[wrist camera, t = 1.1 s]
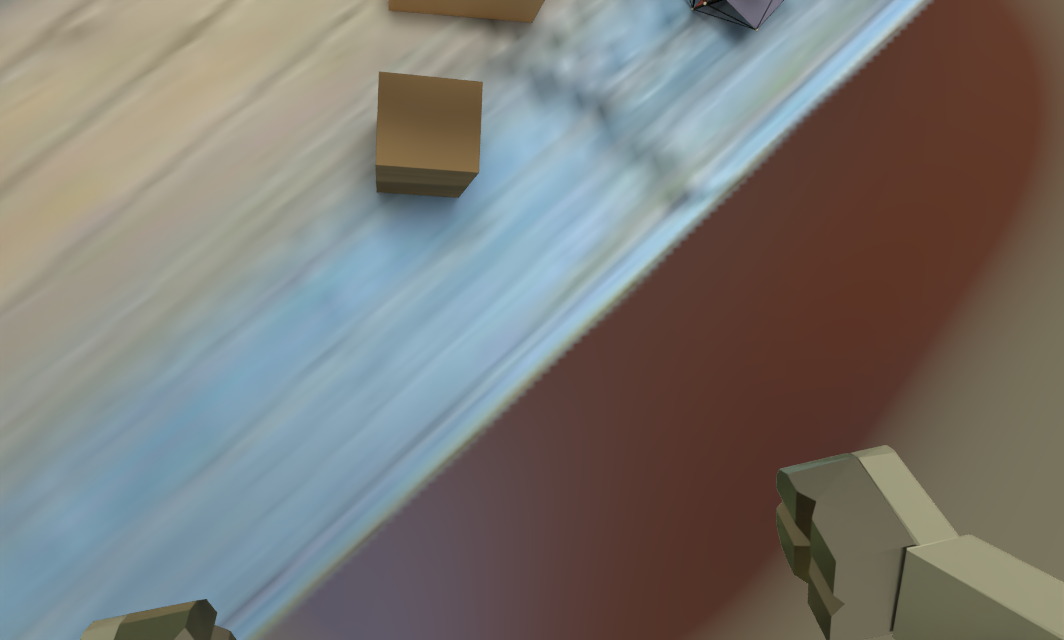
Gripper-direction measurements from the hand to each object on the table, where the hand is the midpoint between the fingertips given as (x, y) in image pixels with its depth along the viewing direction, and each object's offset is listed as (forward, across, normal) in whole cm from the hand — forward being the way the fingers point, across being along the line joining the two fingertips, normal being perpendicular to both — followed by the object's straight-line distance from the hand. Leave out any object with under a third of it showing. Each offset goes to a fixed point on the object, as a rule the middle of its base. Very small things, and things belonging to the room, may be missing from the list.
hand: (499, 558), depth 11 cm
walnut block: (+33, +3, +7) cm, 34 cm away
